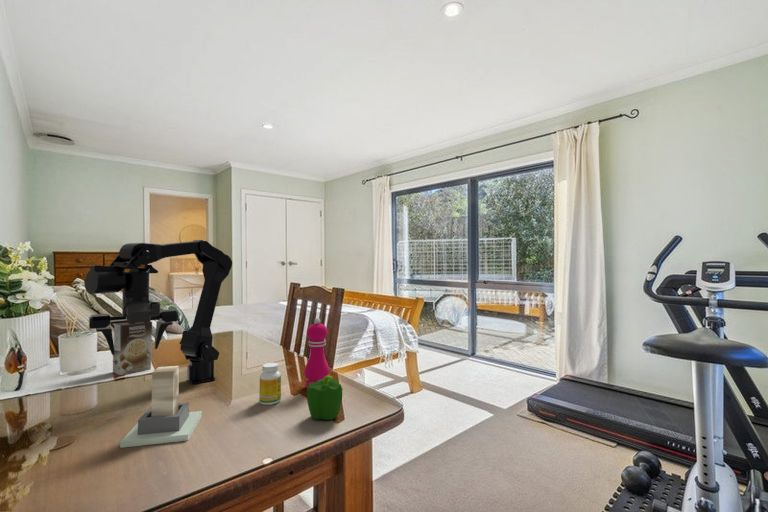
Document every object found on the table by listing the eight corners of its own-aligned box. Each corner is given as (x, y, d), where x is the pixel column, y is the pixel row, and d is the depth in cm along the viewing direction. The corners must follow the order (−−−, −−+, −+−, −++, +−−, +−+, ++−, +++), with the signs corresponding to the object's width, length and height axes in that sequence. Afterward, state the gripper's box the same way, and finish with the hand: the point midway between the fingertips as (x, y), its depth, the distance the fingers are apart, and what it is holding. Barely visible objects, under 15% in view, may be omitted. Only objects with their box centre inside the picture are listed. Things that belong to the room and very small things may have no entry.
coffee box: (119, 375, 115) (120, 325, 115) (112, 372, 119) (113, 323, 119) (151, 369, 123) (152, 321, 123) (143, 365, 126) (144, 319, 127)
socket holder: (144, 421, 82) (144, 402, 83) (201, 416, 85) (202, 398, 86) (120, 447, 71) (120, 426, 71) (188, 440, 74) (188, 419, 74)
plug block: (157, 421, 80) (158, 367, 80) (178, 419, 81) (178, 365, 81) (151, 430, 76) (152, 372, 76) (172, 427, 77) (173, 370, 77)
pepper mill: (305, 383, 109) (306, 316, 109) (330, 382, 110) (330, 316, 110) (302, 391, 102) (303, 320, 102) (328, 390, 103) (329, 320, 103)
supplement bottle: (259, 399, 96) (259, 362, 96) (280, 396, 98) (280, 361, 98) (259, 406, 91) (259, 368, 91) (281, 404, 93) (281, 366, 93)
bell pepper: (303, 412, 88) (303, 371, 88) (336, 407, 91) (336, 367, 91) (310, 427, 80) (311, 381, 80) (346, 421, 83) (346, 377, 84)
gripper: (91, 295, 82) (89, 365, 82) (183, 291, 94) (182, 352, 94) (89, 292, 90) (88, 355, 90) (174, 289, 103) (173, 344, 102)
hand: (135, 351), depth 94 cm, fingers open, 9 cm apart
